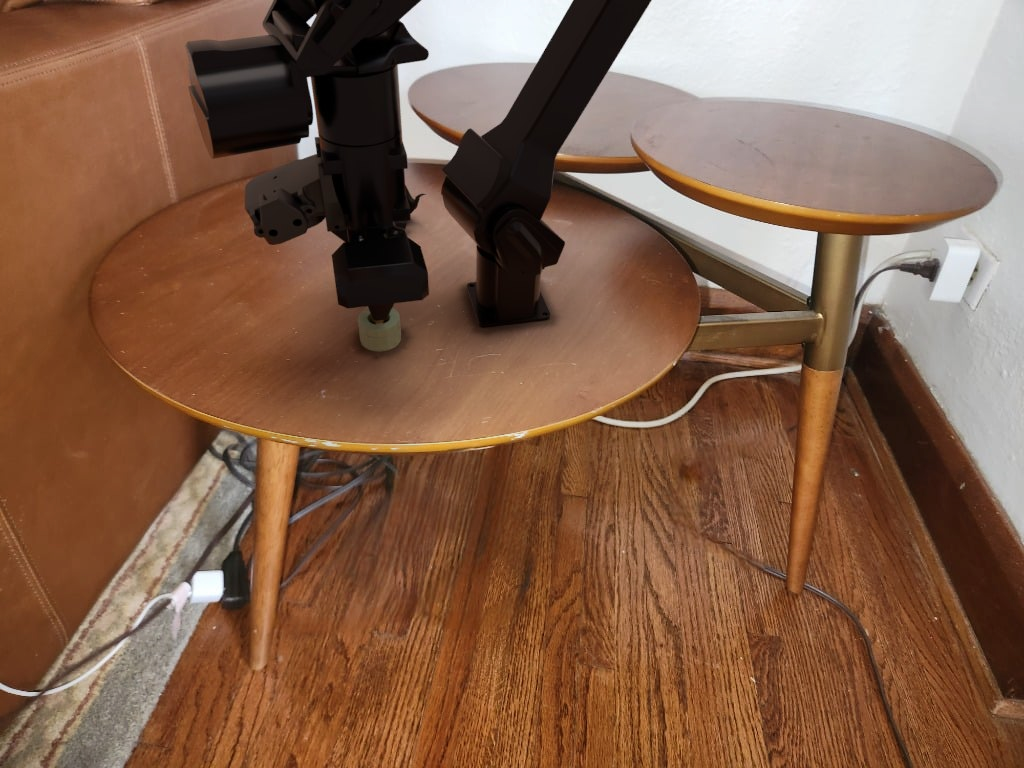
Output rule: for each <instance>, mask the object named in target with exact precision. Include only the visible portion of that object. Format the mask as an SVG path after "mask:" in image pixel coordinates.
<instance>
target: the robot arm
mask: <svg viewBox="0 0 1024 768" xmlns="http://www.w3.org/2000/svg"><path fill="white" fill-rule="evenodd" d="M421 1H422V0H273V1H272V3H271V5H270V7H269V8H268V10H267V13H266V14H265V16H264V18H263V21H262V28H263V30H264V31H265V32H266V33H267V34H266V35H258V36H257V35H256V36H250V37H242V38H234V39H226V40H216V39H197V40H190V41H187V42H186V44H185V45H184V47H185V50H186V55H187V60H188V63H187V64H188V65H187V70H188V77H189V82H190V85H188V86H187V88H188V92H189V97H190V101H191V105H192V108H193V109H192V110H193V112H194V115H195V119H196V122H197V126H198V128H199V132H200V135H201V138H202V140H203V143H204V146H205V148H206V150H207V153H208V155H209V157H210V158H211V160H214V159H215V160H216V159H221V158H227V157H231V156H237V155H242V154H248V153H255V152H260V151H265V150H270V149H275V148H281V147H287V146H288V147H289V146H292V145H299V144H300V143H301V141H302V139H306V138H310V126H312V125H313V123H314V122H313V121H314V111H315V119H316V126H317V133H318V136H314V144H315V152H316V153H314V154H312V155H309V156H307V157H304V158H300V159H295V160H292V161H289V162H288V163H285V164H283V165H280V166H278V167H275V168H272V169H271V170H269V171H267V172H264V173H262V174H259V175H256V176H255V177H253V178H252V179H250V180H249V181H248V182H247V183H246V184H245V186H244V210H245V211H246V213H247V214H248V216H249V218H250V220H251V221H252V223H253V233H254V236H256V237H257V238H259V239H262V238H263V239H264V240H265V241H266V243H267V244H268V245H270V246H276V245H281V244H284V243H286V242H289V241H291V240H293V239H296V238H298V237H301V236H302V235H305V234H306V233H307V232H308V230H309V229H311V228H314V227H316V226H317V225H319V224H321V223H322V222H323V221H324V220H325V224H326V231H327V233H328V232H331V233H332V234H333V235H335V236H336V237H337V238H339V239H340V240H341V241H343V243H341V244H340V246H338V248H337V249H336V250H335V251H334V252H333V253H332V254H331V261H332V268H333V276H334V283H335V291H336V292H335V293H336V298H337V299H336V300H337V304H338V306H341V307H342V308H345V309H347V310H348V309H356V308H366V307H367V308H369V311H370V313H371V316H372V318H373V320H374V321H380V320H386V319H387V317H388V315H389V313H390V311H391V309H392V308H394V305H395V304H399V303H408V302H409V303H411V302H418V301H423V300H425V299H426V298H427V297H428V296H429V295H430V288H429V287H430V286H429V285H430V284H429V272H428V268H427V264H426V260H425V257H424V253H423V249H422V246H421V245H419V244H418V243H416V241H414V240H413V239H411V238H410V237H409V236H408V233H407V231H406V228H407V224H408V223H407V222H410V221H412V218H411V217H412V216H411V214H410V206H409V203H408V200H407V196H406V190H405V185H406V176H405V175H406V174H405V170H406V169H407V170H408V168H409V167H408V154H407V151H406V147H405V145H404V141H403V128H402V127H403V126H402V112H401V111H402V110H401V97H400V95H401V94H400V81H399V78H400V77H399V65H403V64H410V63H417V62H422V61H426V60H428V58H429V55H430V53H429V52H430V51H429V49H427V48H426V47H425V46H424V45H422V44H421V42H419V41H417V40H416V39H415V38H414V37H413V35H411V34H410V32H409V30H408V28H407V27H406V25H405V24H404V22H403V21H401V19H402V18H403V17H404V16H406V15H407V14H408V13H409V12H410V11H411V10H412V9H413V8H414V7H416V6H417V5H418V4H419V3H420V2H421ZM652 1H653V0H572V1H571V3H570V5H569V7H568V8H567V10H566V11H565V14H564V15H563V17H562V19H561V21H560V23H559V24H558V26H557V28H556V29H555V31H554V32H553V34H552V36H551V38H550V40H549V41H548V43H547V45H546V46H545V48H544V50H543V52H542V54H541V55H540V56H539V59H538V61H537V62H536V63H535V66H534V68H533V69H532V71H531V73H530V74H529V76H528V78H527V80H525V83H524V85H523V87H522V88H521V90H520V92H519V93H518V95H517V97H516V98H515V100H514V102H513V104H512V105H511V107H510V108H509V110H508V111H507V114H506V115H505V117H504V118H503V120H502V121H501V122H500V123H499V124H498V125H496V126H494V127H493V128H491V129H490V130H489V131H486V132H485V133H484V134H482V135H480V134H479V133H478V132H476V131H475V130H474V129H472V128H468V129H467V130H466V131H464V132H465V133H464V134H463V135H462V136H461V139H460V142H459V144H458V148H457V149H456V151H455V153H454V155H453V157H452V158H451V159H450V160H449V162H447V163H446V164H445V165H444V166H443V167H442V168H441V171H442V172H443V173H444V175H446V176H445V178H444V180H443V182H442V185H441V191H440V194H441V196H442V200H443V206H444V208H445V210H446V211H447V212H448V214H449V215H450V216H451V217H452V218H453V220H454V221H455V222H456V223H457V224H458V226H460V227H461V228H462V230H463V231H464V232H465V233H466V234H467V235H468V236H469V237H470V238H471V239H472V241H473V242H474V243H475V244H476V247H475V249H476V250H475V253H476V254H475V255H476V256H475V257H476V258H475V259H476V263H475V267H476V268H475V273H476V274H475V281H472V282H468V283H466V292H467V295H468V298H469V301H470V303H471V306H472V309H473V312H474V316H475V318H476V319H475V320H476V321H477V324H478V327H480V328H482V329H488V328H489V329H490V328H496V327H505V326H512V325H520V324H528V323H538V322H546V321H549V320H550V319H551V314H552V313H551V311H550V308H549V307H548V305H547V302H546V301H545V298H544V296H543V294H542V292H541V282H542V281H541V280H542V272H543V270H545V269H546V268H548V267H553V266H555V265H557V264H558V263H559V260H560V257H561V256H562V253H563V250H564V248H565V246H566V241H565V240H564V239H563V238H562V237H561V236H559V234H558V233H556V232H555V230H553V229H552V228H551V227H550V225H548V224H547V223H546V222H544V220H543V217H544V215H545V212H546V210H547V208H548V206H549V204H550V201H551V199H552V191H553V182H554V175H555V174H554V173H555V163H556V158H557V156H558V154H559V152H560V150H561V149H562V147H563V145H564V144H565V142H566V141H567V139H568V137H569V136H570V134H571V133H572V131H573V129H574V128H575V126H576V125H577V123H578V122H579V120H580V118H581V116H582V115H583V113H584V111H585V110H586V108H587V106H588V105H589V103H590V102H591V100H592V99H593V96H594V95H595V93H596V92H597V90H598V88H599V87H600V86H601V84H602V82H603V80H604V79H605V77H606V76H607V74H608V72H609V71H610V69H611V68H612V66H613V64H614V62H615V61H616V59H617V58H618V56H619V55H620V53H621V51H622V50H623V48H624V46H625V45H626V43H627V41H628V40H629V38H630V37H631V34H632V33H633V32H634V29H635V28H636V27H637V25H638V23H639V22H640V21H641V19H642V17H643V16H644V14H645V12H646V10H647V9H648V7H649V6H650V5H651V3H652ZM315 15H316V16H315ZM314 16H315V17H314ZM313 17H314V20H313V22H312V23H311V25H310V24H309V23H308V22H309V21H310V20H311V19H312V18H313ZM308 78H310V82H311V89H312V96H313V101H312V97H311V92H310V87H309V82H308ZM313 104H314V109H313Z"/></svg>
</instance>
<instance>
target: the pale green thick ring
mask: <svg viewBox="0 0 1024 768" xmlns="http://www.w3.org/2000/svg"><path fill="white" fill-rule="evenodd" d="M357 326H358V334H359V342H360V344H361V346H362V347H364V349H366V350H369V351H373V352H387V351H390V350H392V349H394V348H396V347H397V346H398V345H399V344H400V342H401V340H402V330H401V329H402V328H401V316H400V313H398V311H397V310H396V309H395V308H394V307H392V309H391V311H390V313H389V315H388V317H387V319H386V320H384V321H383V324H380V325H375V322H374V321H373V318H372V316H371V313H370V311H369V308H368V307H367V308H365V309H363V310H362V311H361V312H360V313H359V314H358V318H357Z"/></svg>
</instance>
